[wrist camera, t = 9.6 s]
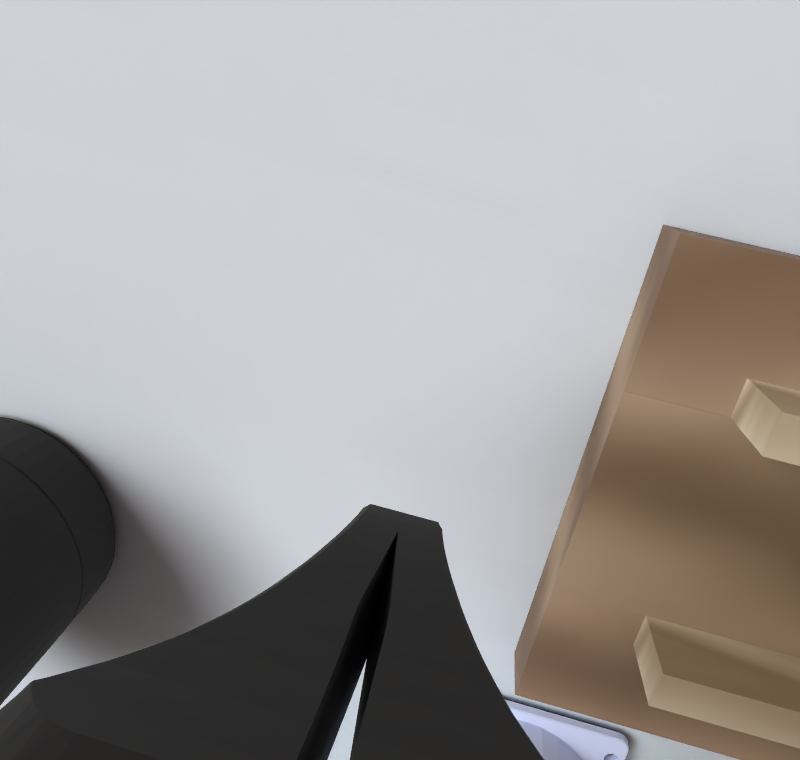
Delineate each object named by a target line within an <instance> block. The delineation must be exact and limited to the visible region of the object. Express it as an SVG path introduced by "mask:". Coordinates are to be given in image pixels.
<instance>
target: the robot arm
mask: <svg viewBox="0 0 800 760" xmlns="http://www.w3.org/2000/svg"><path fill="white" fill-rule="evenodd" d="M366 659H367V661H366ZM365 661H366V667H365V673H364V679H363V685H362V691H361V697H360V703H359V709H358V715H357V721H356V726H355V732H354V738H353V744H352V750H351V756H350V760H625V759H626V757H627V754H628V752H629V746H628V741H627V738H626V737H625V736H624V735H623V734H621V733H619V732H616V731H612V730H609V729H605V728H602V727H598V726H595V725H591V724H588V723H584V722H581V721H578V720H574V719H571V718H567V717H564V716H560V715H557V714H553V713H550V712H546V711H543V710H539V709H536V708H533V707H529V706H526V705H522V704H519V703H515V702H512V701H508V700H505V699H504V698H503V696H502V694H501V692H500V691H499V689H498V687H497V685H496V683H495V682H494V680H493V678H492V676H491V674H490V672H489V670H488V668H487V666H486V664H485V662H484V660H483V658H482V656H481V654H480V652H479V650H478V647H477V645H476V643H475V641H474V638H473V636H472V633H471V631H470V629H469V626H468V624H467V621H466V619H465V616H464V614H463V611H462V608H461V605H460V602H459V599H458V596H457V593H456V590H455V587H454V584H453V581H452V578H451V574H450V571H449V567H448V563H447V558H446V554H445V549H444V544H443V536H442V528H441V527H440V525H439V523H438V522H435V521H432V520H428V519H424V518H420V517H417V516H413V515H409V514H406V513H402V512H398V511H395V510H391V509H387V508H383V507H380V506H376V505H372V504H370V505H368V506H366V507H364V508H363V509H362V510H361V511H360V513H359V514H358V515H357V516H356V517H355V518H354V519H353V520H352V521H351V522H350V523H349V524H348V525H347V526H346V527H345V528H344V529H343V530H342V531H341V532H340V533H339V534H338V535H337V536H336V537H335V538H334V539H332V540H331V541H330V542H329V543H328V544H327V545H325V546H324V547H323V548H322V549H321V550H319V551H318V552H317V553H316V554H315V555H314V556H312V557H311V558H310V559H309V560H307V561H306V562H305V563H303V564H302V565H301V566H299V567H298V568H297V569H295V570H294V571H292V572H291V573H290V574H288V575H287V576H286V577H284V578H283V579H281V580H280V581H279V582H277V583H276V584H274V585H273V586H271V587H270V588H268V589H267V590H265V591H263V592H262V593H260V594H259V595H257V596H255V597H254V598H252V599H250V600H249V601H247V602H245V603H243V604H242V605H240V606H238V607H237V608H235V609H233V610H231V611H229V612H227V613H225V614H223V615H221V616H219V617H217V618H215V619H213V620H211V621H209V622H207V623H205V624H203V625H201V626H199V627H197V628H195V629H193V630H191V631H189V632H186V633H184V634H182V635H179V636H177V637H174V638H172V639H169V640H167V641H164V642H162V643H159V644H156V645H154V646H151V647H148V648H145V649H142V650H140V651H137V652H134V653H131V654H128V655H125V656H122V657H119V658H116V659H113V660H109V661H106V662H103V663H99V664H95V665H92V666H88V667H84V668H80V669H77V670H73V671H69V672H66V673H62V674H58V675H55V676H51V677H47V678H43V679H38V680H34V681H32V682H30V683H29V684H28V685H27V686H26V687H25V688H24V689H23V690H22V691H21V692H20V693H19V694H18V695H17V696H16V697H14V698H13V699H12V700H11V701H10V702H9V703H8V704H6V705H5V706H4V707H3V708H2V709H1V710H0V760H327V759H328V756H329V754H330V751H331V749H332V746H333V744H334V741H335V738H336V736H337V733H338V731H339V728H340V726H341V723H342V721H343V718H344V715H345V713H346V710H347V708H348V705H349V703H350V700H351V698H352V695H353V692H354V690H355V687H356V685H357V682H358V680H359V677H360V674H361V672H362V669H363V667H364V664H365ZM607 754H614V755H611V756H610V755H607Z"/></svg>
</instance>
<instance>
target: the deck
mask: <svg viewBox="0 0 800 760" xmlns="http://www.w3.org/2000/svg"><path fill="white" fill-rule="evenodd" d="M515 695H518V696H522V697H525V698H528V699H532V700H535V701H539V702H542V703H546V704H549V705H553V706H556V707H560V708H563V709H567V710H570V711H574V712H577V713H581V714H584V715H588V716H591V717H595V718H598V719H601V720H605V721H608V722H612V723H615V724H619V725H622V726H626V727H629V728H633V729H636V730H640V731H643V732H647V733H650V734H654V735H657V736H661V737H664V738H668V739H671V740H674V741H678V742H681V743H685V744H688V745H692V746H695V747H699V748H702V749H706V750H709V751H713V752H716V753H720V754H723V755H727V756H730V757H734V758H737V759H741V760H800V256H798V255H793V254H789V253H785V252H780V251H776V250H771V249H767V248H763V247H758V246H754V245H750V244H745V243H741V242H736V241H732V240H728V239H723V238H719V237H715V236H710V235H706V234H701V233H697V232H693V231H688V230H684V229H680V228H675V227H671V226H666V225H663V227H662V230H661V233H660V236H659V239H658V241H657V244H656V247H655V250H654V253H653V256H652V259H651V262H650V264H649V267H648V270H647V273H646V276H645V279H644V282H643V285H642V287H641V290H640V293H639V296H638V299H637V302H636V305H635V308H634V311H633V313H632V316H631V319H630V322H629V325H628V328H627V331H626V334H625V336H624V339H623V342H622V345H621V348H620V351H619V354H618V357H617V360H616V362H615V365H614V368H613V371H612V374H611V377H610V380H609V383H608V385H607V388H606V391H605V394H604V397H603V400H602V403H601V406H600V408H599V411H598V414H597V417H596V420H595V423H594V426H593V429H592V432H591V434H590V437H589V440H588V443H587V446H586V449H585V452H584V455H583V457H582V460H581V463H580V466H579V469H578V472H577V475H576V478H575V481H574V483H573V486H572V489H571V492H570V495H569V498H568V501H567V504H566V506H565V509H564V512H563V515H562V518H561V521H560V524H559V527H558V529H557V532H556V535H555V538H554V541H553V544H552V547H551V550H550V553H549V555H548V558H547V561H546V564H545V567H544V570H543V573H542V576H541V578H540V581H539V584H538V587H537V590H536V593H535V596H534V599H533V601H532V604H531V607H530V610H529V613H528V616H527V619H526V622H525V625H524V627H523V630H522V633H521V636H520V639H519V642H518V645H517V648H516V650H515Z"/></svg>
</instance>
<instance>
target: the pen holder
mask: <svg viewBox="0 0 800 760" xmlns="http://www.w3.org/2000/svg"><path fill="white" fill-rule="evenodd" d="M114 550H115V530H114V524H113V518H112V513H111V510H110V507H109V504H108V501H107V499H106V497H105V494H104V492H103V490H102V488H101V486H100V485H99V483H98V481H97V480H96V478H95V477H94V475H93V474H92V473H91V471H90V470H89V469H88V467H87V466H86V465H85V464H84V463H83V462H82V461H81V460H80V458H79V457H78V456H77V455H76V454H74V453H73V452H72V451H71V450H70V449H69V448H68V447H66V446H65V445H64V444H62V443H61V442H60V441H58V440H57V439H55V438H54V437H52V436H50V435H49V434H47V433H45V432H43V431H41V430H39V429H37V428H35V427H32V426H30V425H27V424H24V423H21V422H18V421H15V420H12V419H7V418H2V417H0V705H1V704H2V703H3V702H4V700H5V699H6V698H7V697H8V696H9V695H10V693H11V692H12V691H13V690H14V689H15V688H16V686H17V685H18V684H19V683H20V682H21V681H22V679H23V678H24V677H25V676H26V675H27V674H28V672H29V671H30V670H31V669H32V668H33V667H34V665H35V664H36V663H37V662H38V661H39V660H40V658H41V657H42V656H43V655H44V654H45V653H46V651H47V650H48V649H49V648H50V647H51V646H52V644H53V643H54V642H55V641H56V640H57V639H58V637H59V636H60V635H61V634H62V633H63V632H64V630H65V629H66V628H67V626H68V625H69V624H70V623H71V622H72V620H73V619H74V618H75V617H76V616H77V614H78V613H79V612H80V611H81V610H82V608H83V607H84V606H85V605H86V603H87V602H88V601H89V600H90V599H91V597H92V596H93V595H94V594H95V592H96V591H97V590H98V588H99V587H100V585H101V584H102V583H103V581H104V580H105V578H106V576H107V574H108V572H109V570H110V568H111V564H112V561H113V557H114Z"/></svg>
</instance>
